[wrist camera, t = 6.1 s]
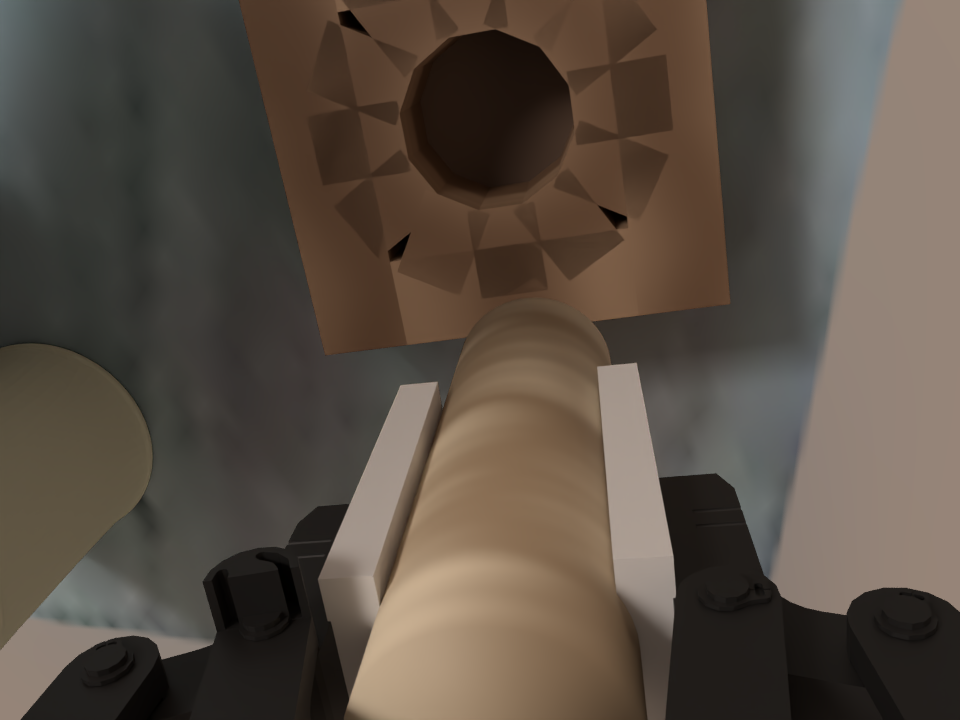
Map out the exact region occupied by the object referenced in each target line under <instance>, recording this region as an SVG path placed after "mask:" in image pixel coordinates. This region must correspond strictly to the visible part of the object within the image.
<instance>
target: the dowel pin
mask: <svg viewBox="0 0 960 720" xmlns="http://www.w3.org/2000/svg"><path fill="white" fill-rule="evenodd" d="M609 365H611V360H610V354H609V351H608V348H607V345H606V342H605V340H604V338H603V336H602V335H601V333H600V332H599V330H598V329H597V327H596V326H595V325H594V324H593V323H592V322H591V320H589V319H588V318H587V317H586V316H585V315H584V314H582V313H581V312H579V311H578V310H576V309H575V308H573V307H571V306H569V305H567V304H565V303H562V302H559V301H556V300H551V299H546V298H523V299H517V300H513V301H510V302H507V303H504V304H502V305H500V306H498V307H496V308H494V309H493V310H491V311H489V312H488V313H487V314H485V315H484V316H483V317H482V318H481V319H480V320H479V321H478V322H477V323H476V324H475V325H474V327H473V328H472V330H471V331H470V332H469V334H468V336H467V338H466V340H465V342H464V345H463V348H462V351H461V354H460V357H459V361H458V364H457V367H456V370H455V373H454V376H453V379H452V382H451V385H450V388H449V392H448V395H447V398H446V401H445V404H444V407H443V411H442V414H441V417H440V420H439V423H438V426H437V429H436V432H435V435H434V439H433V442H432V445H431V448H430V451H429V454H428V457H427V460H426V464H425V467H424V470H423V473H422V476H421V479H420V482H419V485H418V488H417V492H416V495H415V498H414V501H413V504H412V507H411V510H410V513H409V516H408V520H407V523H406V526H405V529H404V532H403V535H402V539H401V542H400V545H399V548H398V551H397V554H396V557H395V561H394V564H393V567H392V570H391V573H390V576H389V579H388V583H387V586H386V589H385V592H384V595H383V598H382V602H381V605H380V607H379V610H378V613H377V616H376V619H375V622H374V625H373V628H372V631H371V634H370V637H369V640H368V643H367V646H366V650H365V653H364V656H363V659H362V662H361V665H360V668H359V671H358V674H357V677H356V681H355V684H354V687H353V690H352V693H351V696H350V699H349V702H348V705H347V709H346V712H345V715H344V720H648V719H647V709H646V699H645V690H644V680H643V670H642V660H641V651H640V644H639V639H638V633H637V630H636V628H635V625H634V622H633V619H632V617H631V615H630V614H629V612H628V610H627V608H626V606H625V604H624V603H623V602H622V600H621V599H620V598H619V596H618V595H617V594H616V584H615V575H614V565H613V553H612V541H611V529H610V517H609V504H608V492H607V480H606V468H605V456H604V443H603V431H602V419H601V407H600V394H599V382H598V370H597V367H598V366H609Z"/></svg>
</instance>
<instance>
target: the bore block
mask: <svg viewBox="0 0 960 720" xmlns="http://www.w3.org/2000/svg"><path fill="white" fill-rule="evenodd" d="M239 3H240V7H241V11H242V15H243V20H244V24H245V28H246V32H247V36H248V40H249V44H250V48H251V52H252V56H253V61H254V65H255V69H256V73H257V77H258V81H259V85H260V89H261V93H262V98H263V102H264V106H265V110H266V114H267V118H268V122H269V126H270V130H271V135H272V139H273V143H274V147H275V151H276V155H277V159H278V163H279V167H280V172H281V176H282V180H283V184H284V188H285V192H286V196H287V200H288V204H289V209H290V213H291V217H292V221H293V225H294V229H295V233H296V237H297V241H298V245H299V250H300V254H301V258H302V262H303V266H304V270H305V274H306V278H307V282H308V287H309V291H310V295H311V299H312V303H313V307H314V311H315V315H316V319H317V324H318V328H319V332H320V336H321V340H322V344H323V348H324V352H325V355H332V354H340V353H348V352H356V351H364V350H372V349H380V348H387V347H395V346H403V345H411V344H419V343H427V342H435V341H443V340H450V339H458V338H466V337H467V336H468V334H469V332H470V331H471V330H472V328H473V327H474V325H475V324H476V323H477V322H478V321H479V320H480V319H481V318H482V317H483V316H484V315H485V314H487V313H488V312H489V311H491V310H493V309H494V308H496V307H498V306H500V305H502V304H504V303H507V302H510V301H513V300H517V299H523V298H546V299H551V300H556V301H559V302H562V303H565V304H567V305H569V306H571V307H573V308H575V309H576V310H578V311H579V312H581V313H582V314H584V315H585V316H586V317H587V318H588V319H589V320H591V322H592V321H600V320H608V319H616V318H624V317H632V316H640V315H647V314H655V313H663V312H671V311H679V310H687V309H695V308H703V307H710V306H718V305H726V304H730V292H729V280H728V267H727V255H726V242H725V230H724V217H723V205H722V192H721V179H720V167H719V154H718V142H717V129H716V117H715V104H714V91H713V79H712V66H711V54H710V41H709V29H708V16H707V4H706V0H239Z"/></svg>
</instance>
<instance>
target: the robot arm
mask: <svg viewBox="0 0 960 720" xmlns="http://www.w3.org/2000/svg"><path fill="white" fill-rule="evenodd" d="M597 370H598V382H599V394H600V407H601V419H602V431H603V443H604V456H605V468H606V480H607V492H608V504H609V517H610V529H611V541H612V553H613V565H614V575H615V584H616V594H617V595H618V596H619V598H620V599H621V600H622V602H623V603H624V604H625V606H626V608H627V610H628V612H629V614H630V615H631V617H632V619H633V622H634V625H635V628H636V630H637V633H638V639H639V644H640V651H641V660H642V670H643V680H644V690H645V699H646V709H647V719H648V720H960V612H959V611H958V610H956V609H955V608H954V607H953V606H952V605H951V604H950V603H949V602H947V601H945V600H943V599H941V598H938V597H936V596H934V595H932V594H930V593H927V592H922V591H918V590H913V589H908V588H881V589H877V590H873V591H869V592H865V593H863V594H862V595H860V596H859V597H857V598H856V599H854V600H853V601H852V603H851V605H850V607H849V609H848V611H847V615H841V614H835V613H828V612H821V611H817V610H812V609H807V608H804V607H802V606H799V605H796V604H794V603H791V602H789V601H788V600H786V599H784V598H782V597H781V596H780V593H779V591H778V588H777V586H776V585H775V584H774V583H773V582H772V581H770V580H769V579H768V578H767V577H766V576H764V574H763V571H762V568H761V565H760V562H759V559H758V556H757V553H756V550H755V547H754V544H753V542H752V539H751V536H750V533H749V530H748V527H747V525H746V521H745V518H744V515H743V512H742V510H741V506H740V503H739V500H738V497H737V494H736V492H735V489H734V488H733V487H732V486H731V485H730V484H729V483H727V482H726V481H725V480H724V479H722V478H721V477H720V476H719V475H717V474H716V473H715V474H702V475H689V476H676V477H663V478H658V472H657V467H656V462H655V457H654V451H653V446H652V441H651V436H650V430H649V425H648V420H647V415H646V409H645V404H644V399H643V393H642V388H641V383H640V378H639V372H638V367H637V363H630V364H620V365H609V366H598V367H597ZM442 411H443V410H442V404H441V398H440V392H439V386H438V382H429V383H419V384H408V385H400V388H399V390H398V392H397V395H396V397H395V399H394V402H393V404H392V406H391V409H390V411H389V413H388V416H387V418H386V421H385V423H384V425H383V428H382V430H381V432H380V435H379V437H378V439H377V442H376V444H375V446H374V449H373V451H372V453H371V456H370V458H369V460H368V463H367V465H366V468H365V470H364V472H363V475H362V477H361V479H360V482H359V484H358V486H357V489H356V491H355V493H354V496H353V498H352V500H351V503H350V504H344V505H331V506H318V507H317V508H315V509H314V510H313V511H312V512H311V513H310V514H308V515H307V516H306V517H305V518H304V519H303V520H301V521H300V522H299V523H298V524H297V526H296V528H295V530H294V532H293V534H292V536H291V538H290V540H289V545H287V546H286V548H285V549H282V548H278V547H267V548H256V549H252V550H249V551H245V552H241V553H238V554H236V555H234V556H232V557H230V558H228V559H226V560H224V561H222V562H221V563H220V564H218V565H217V566H216V567H214V568H213V569H212V570H210V572H209V573H208V575H207V576H206V578H205V579H204V581H203V585H204V588H205V592H206V595H207V599H208V602H209V605H210V609H211V612H212V616H213V619H214V623H215V626H216V630H217V634H216V637H215V640H214V643H213V645H210V646H207V647H205V648H202V649H199V650H196V651H192V652H188V653H185V654H181V655H177V656H174V657H170V658H167V659H163V660H162V659H161V656H160V653H159V650H158V647H157V645H156V644H155V643H154V642H153V641H151V640H150V639H149V638H145V637H139V636H127V637H120V638H114V639H110V640H108V641H106V642H105V641H104V642H102V643H99V644H97V645H95V646H94V647H92V648H90V649H88V650H87V651H85V652H83V653H81V654H80V655H78V656H77V657H76V658H75V659H74V660H73V661H72V662H71V663H69V664H68V665H67V666H66V667H65V668H64V669H63V670H62V672H61V673H60V674H59V675H58V676H57V678H56V679H55V680H54V681H53V682H52V683H51V685H50V686H49V687H48V688H47V689H46V690H45V692H44V693H43V694H42V695H41V696H40V698H39V699H38V700H37V701H36V702H35V703H34V705H33V706H32V707H31V708H30V709H29V710H28V712H27V713H26V714H25V715H24V716H23V717H22V719H21V720H344V715H345V712H346V709H347V705H348V702H349V699H350V696H351V693H352V690H353V687H354V684H355V681H356V677H357V674H358V671H359V668H360V665H361V662H362V659H363V656H364V653H365V650H366V646H367V643H368V640H369V637H370V634H371V631H372V628H373V625H374V622H375V619H376V616H377V613H378V610H379V607H380V605H381V602H382V598H383V595H384V592H385V589H386V586H387V583H388V579H389V576H390V573H391V570H392V567H393V564H394V561H395V557H396V554H397V551H398V548H399V545H400V542H401V539H402V535H403V532H404V529H405V526H406V523H407V520H408V516H409V513H410V510H411V507H412V504H413V501H414V498H415V495H416V492H417V488H418V485H419V482H420V479H421V476H422V473H423V470H424V467H425V464H426V460H427V457H428V454H429V451H430V448H431V445H432V442H433V439H434V435H435V432H436V429H437V426H438V423H439V420H440V417H441V414H442Z"/></svg>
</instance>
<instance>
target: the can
mask: <svg viewBox="0 0 960 720" xmlns="http://www.w3.org/2000/svg"><path fill="white" fill-rule="evenodd" d="M152 463H153V452H152V443H151V437H150V434H149V431H148V427H147V424H146V422H145V419H144V417H143V415H142V413H141V411H140V409H139V407H138V406H137V404H136V402H135V401H134V399H133V398H132V397H131V395H130V394H129V393H128V392H127V390H126V389H125V388H124V387H123V386H122V385H121V384H120V383H119V381H117V380H116V379H115V378H114V377H113V376H112V375H111V374H110V373H109V372H107V371H106V370H105V369H103V368H102V367H101V366H99V365H98V364H96V363H94V362H93V361H91V360H89V359H87V358H86V357H84V356H82V355H80V354H77V353H75V352H73V351H70V350H67V349H64V348H61V347H57V346H53V345H46V344H36V343H25V344H15V345H10V346H6V347H2V348H0V650H1V649H2V648H3V647H4V645H5V644H6V643H7V642H8V641H9V639H10V638H11V637H12V636H13V635H14V634H15V633H16V631H17V630H18V629H19V628H20V627H21V626H22V625H23V624H24V622H25V621H26V620H27V619H28V618H29V617H30V616H31V615H32V614H33V612H34V611H35V610H36V609H37V608H38V607H39V606H40V605H41V603H42V602H43V601H44V600H45V599H46V598H47V597H48V596H49V595H50V593H51V592H52V591H53V590H54V589H55V588H56V587H57V586H58V584H59V583H60V582H61V581H62V580H63V579H64V578H65V577H66V575H67V574H68V573H69V572H70V571H71V570H72V569H73V568H74V567H75V565H76V564H77V563H78V562H79V561H80V560H81V559H82V558H83V557H84V556H85V555H86V554H87V552H88V551H89V550H90V549H91V548H92V547H93V546H94V545H95V544H96V543H97V542H98V540H99V539H100V538H101V537H102V536H103V535H104V534H105V533H106V532H107V531H108V530H109V529H110V528H111V527H112V526H113V525H114V524H115V523H116V522H117V521H118V520H120V519H121V518H123V517H124V516H125V515H126V514H128V513H129V512H130V511H131V510H132V509H133V508H134V507H135V506H136V504H137V503H138V502H139V501H140V499H141V497H142V496H143V494H144V492H145V490H146V488H147V486H148V483H149V480H150V476H151V471H152Z"/></svg>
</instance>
